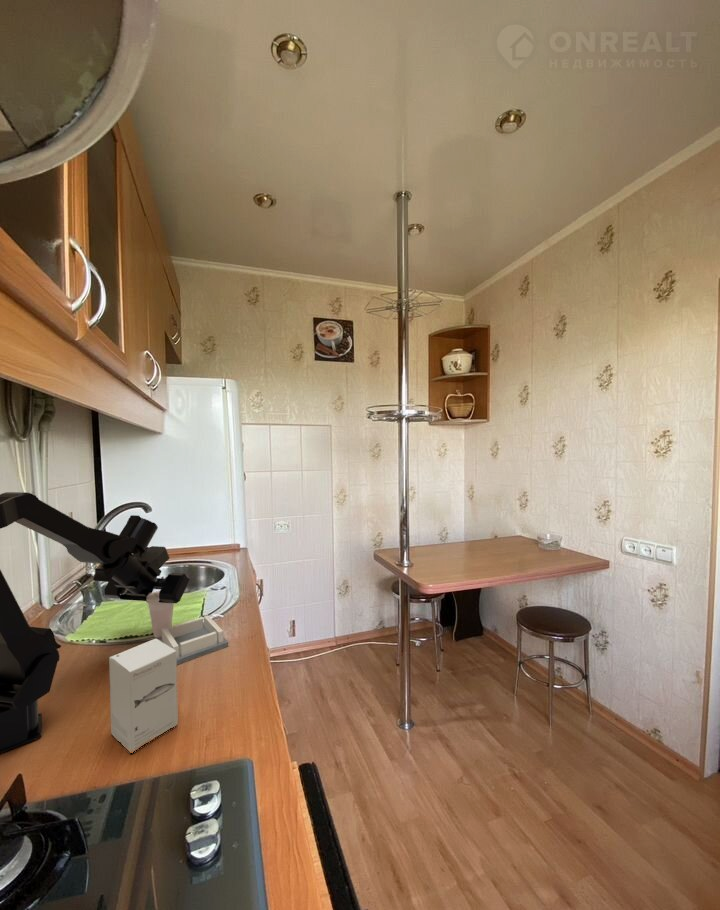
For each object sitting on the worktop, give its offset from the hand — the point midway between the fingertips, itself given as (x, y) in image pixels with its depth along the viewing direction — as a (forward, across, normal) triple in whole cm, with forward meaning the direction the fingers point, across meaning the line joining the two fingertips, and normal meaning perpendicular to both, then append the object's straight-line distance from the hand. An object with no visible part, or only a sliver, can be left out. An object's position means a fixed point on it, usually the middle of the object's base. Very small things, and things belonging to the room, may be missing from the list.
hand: (165, 600), depth 92 cm
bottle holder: (+2, -11, +9) cm, 14 cm away
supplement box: (-15, -19, +26) cm, 36 cm away
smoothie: (+4, 0, +6) cm, 8 cm away
